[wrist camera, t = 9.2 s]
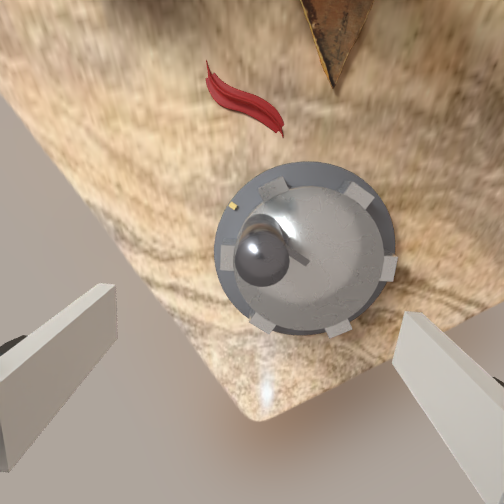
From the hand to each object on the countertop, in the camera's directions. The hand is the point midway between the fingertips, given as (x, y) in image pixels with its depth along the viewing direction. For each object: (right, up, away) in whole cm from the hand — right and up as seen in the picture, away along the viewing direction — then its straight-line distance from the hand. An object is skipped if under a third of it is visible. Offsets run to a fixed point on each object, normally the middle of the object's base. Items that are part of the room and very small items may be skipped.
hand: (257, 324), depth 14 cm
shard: (+9, +28, +18) cm, 34 cm away
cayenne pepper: (-1, +20, +20) cm, 28 cm away
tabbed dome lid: (+6, +3, +22) cm, 23 cm away
